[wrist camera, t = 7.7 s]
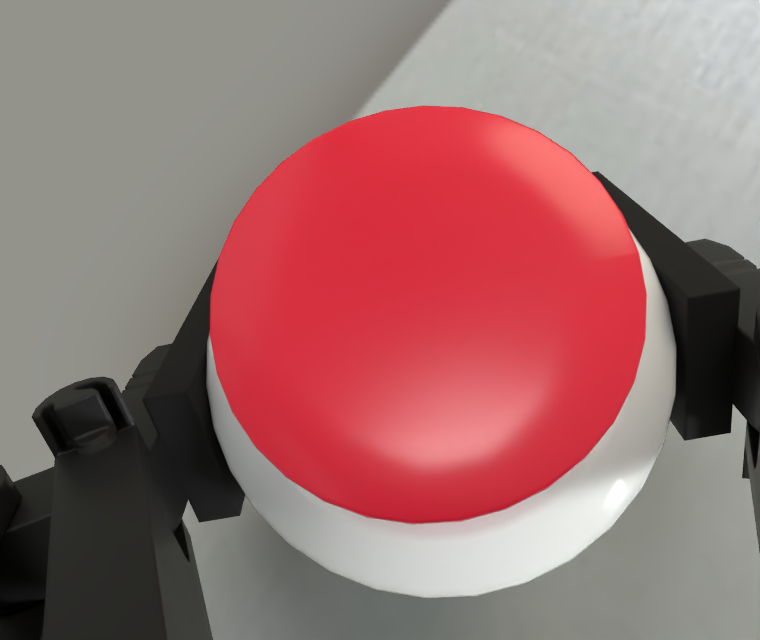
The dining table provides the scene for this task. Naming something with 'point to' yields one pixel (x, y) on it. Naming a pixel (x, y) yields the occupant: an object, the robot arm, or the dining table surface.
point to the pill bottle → (438, 353)
